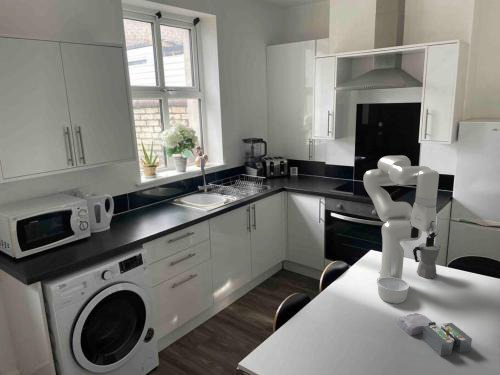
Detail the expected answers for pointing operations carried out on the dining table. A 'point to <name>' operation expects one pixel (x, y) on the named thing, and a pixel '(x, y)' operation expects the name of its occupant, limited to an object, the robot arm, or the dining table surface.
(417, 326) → the stone block
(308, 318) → the dining table surface
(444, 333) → the bar with dark endcap
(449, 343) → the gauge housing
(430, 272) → the coffeepot
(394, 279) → the ramekin
